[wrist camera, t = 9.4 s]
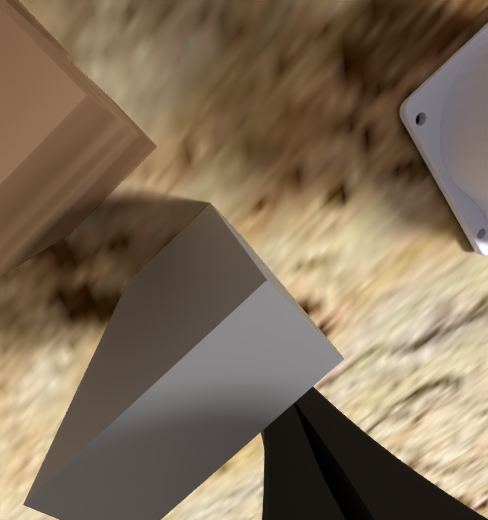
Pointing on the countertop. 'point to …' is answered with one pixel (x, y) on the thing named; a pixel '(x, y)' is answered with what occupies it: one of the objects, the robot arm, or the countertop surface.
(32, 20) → the domino
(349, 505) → the robot arm
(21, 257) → the domino
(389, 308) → the countertop surface
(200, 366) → the domino
